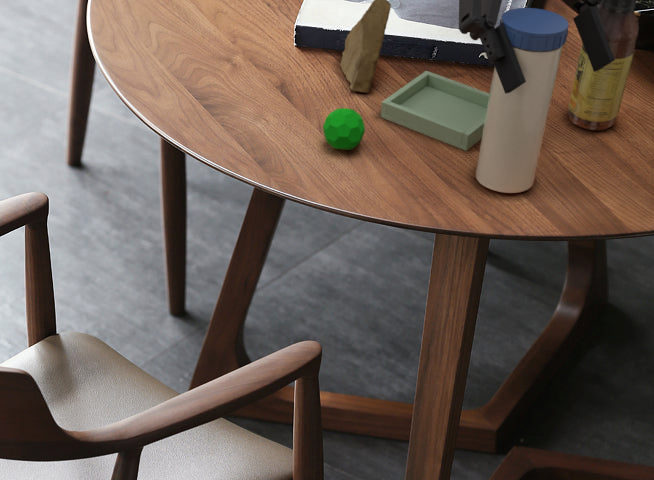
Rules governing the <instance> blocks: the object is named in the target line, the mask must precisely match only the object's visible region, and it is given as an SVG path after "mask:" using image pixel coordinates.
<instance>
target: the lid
mask: <svg viewBox="0 0 654 480" xmlns="http://www.w3.org/2000/svg"><path fill="white" fill-rule="evenodd" d="M500 25H504V27H505V29H506V32H507V34H508V37H509V39H510V42H511V45H512V46H514V47H517V48H521V49H526V50H533V51H548V50H554V49H558V48H560V47H562V46H563V47H564V45H565V43H566V42H567V40H568V34H569V25H570V24H569V21H568V20H567V19H566V17H564V16H563V15H561V14H559V13H556V12H553V11H551V10H547V9H543V8H536V7H535V8H534V7H517V8H512V9H509V10H507V11H504V13H502V15H501V19H500V20H499V25H498V26H500Z"/></svg>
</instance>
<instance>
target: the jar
mask: <svg viewBox="0 0 654 480" xmlns="http://www.w3.org/2000/svg"><path fill="white" fill-rule="evenodd" d="M512 47H513V50H514V52H515V55H516V57H517V60H518V62H519V65H520V68H521V70H522V73H523V75H524V78H525V80H526V82H525V83H523V84H522V85H520V86H519V87H518V88H516V89H515V90H513V91H512V92H510V93H506V94H505V92H504V89H503V86H502V84H501V81H500V79H499V76H498V74H497V71H496V69H495V66H493V71H492V77H491V83H490V89H489V100H488V106H487V111H486V117H485V123H484V128H483V134H482V138H481V139H480V147H479V152H478V158H477V162H476V168H475V174H474V175H475V179H476V181H477V182H478V183H479V184H480V185H481V186H483V187H484V188H487V189H489V190H491V191H495V192H498V193H504V194H505V193H506V194H517V193H522V192H525V191H528V190H530V189H531V188H532V187H533V185H534V182H535V178H536V172H537V169H538V163H539V159H540V155H541V150H542V145H543V141H544V136H545V132H546V127H547V121H548V118H549V114H550V113H549V112H550V108H551V102H552V98H553V95H554V94H553V93H554V90H555V85H556V79H557V75H558V70H559V67H560V66H559V65H560V62H561V57H562V52H563V47H564V45H563V46H562V47H560V48H558V49H554V50H548V51H533V50H526V49H521V48H517V47H514V46H512Z"/></svg>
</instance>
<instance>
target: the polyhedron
mask: <svg viewBox="0 0 654 480" xmlns="http://www.w3.org/2000/svg"><path fill="white" fill-rule="evenodd" d="M322 130H323V134H324V139H325V141H326V143H327V144H328V145H329V146H331V147H332V148H333V149H336V150H342V151H343V150H344V151H345V150H346V151H348V150H349V151H350V150H352V149H354V148H355V147H357V146H359V144H360V143H361V142H362V140H363V137H364V135H365V131H366V128H365V122H364V120H363V118H362V115H361V114H359V113H358V112H357V111H356V110H355V109H353V108H346V107H345V108H344V107H340V108H336V109H335V110H333V111H331V112H330V113H328V115H327V116H326V118H325V121H324V123H323V126H322Z"/></svg>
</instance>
